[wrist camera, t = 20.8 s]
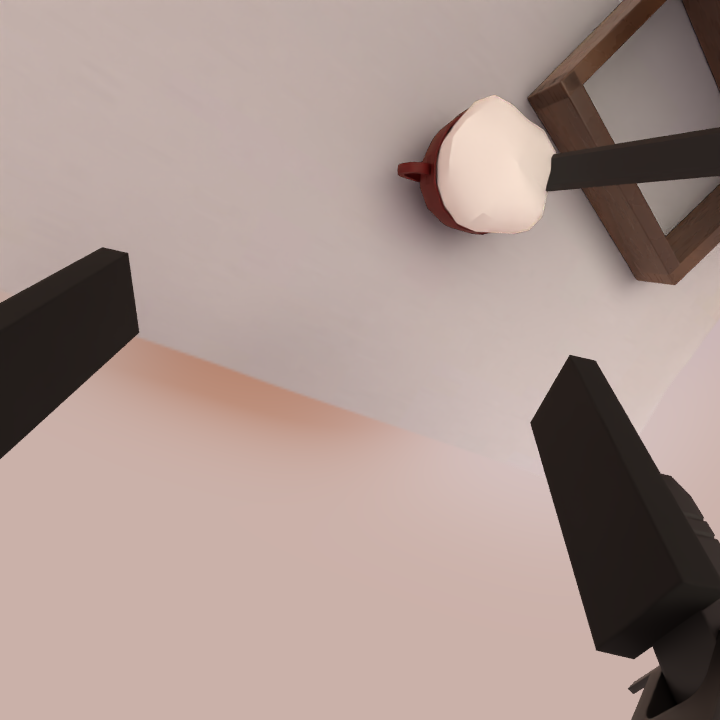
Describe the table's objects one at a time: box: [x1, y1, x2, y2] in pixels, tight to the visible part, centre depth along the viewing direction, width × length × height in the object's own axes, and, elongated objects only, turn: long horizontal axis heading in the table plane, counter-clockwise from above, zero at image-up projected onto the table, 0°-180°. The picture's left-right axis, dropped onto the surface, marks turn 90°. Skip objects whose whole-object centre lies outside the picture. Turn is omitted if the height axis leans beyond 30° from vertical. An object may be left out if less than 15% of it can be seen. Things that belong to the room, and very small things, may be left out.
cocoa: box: [398, 95, 720, 235], centre depth 20 cm, size 10×6×12 cm, turn 66°
